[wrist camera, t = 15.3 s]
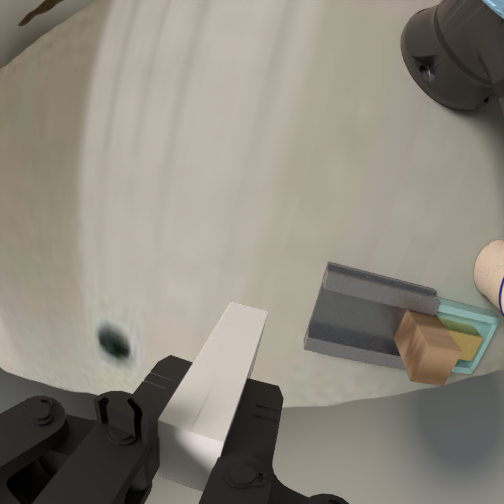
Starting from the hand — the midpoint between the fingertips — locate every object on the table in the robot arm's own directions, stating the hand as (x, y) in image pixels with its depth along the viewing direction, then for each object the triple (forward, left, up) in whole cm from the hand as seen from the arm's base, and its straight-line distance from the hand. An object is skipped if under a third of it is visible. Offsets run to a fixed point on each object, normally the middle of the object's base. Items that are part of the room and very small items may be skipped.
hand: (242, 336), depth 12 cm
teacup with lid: (-2, +33, -29) cm, 44 cm away
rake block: (+10, +21, -27) cm, 36 cm away
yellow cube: (+10, +30, -28) cm, 42 cm away
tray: (+10, +28, -28) cm, 41 cm away
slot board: (+10, +14, -28) cm, 33 cm away
